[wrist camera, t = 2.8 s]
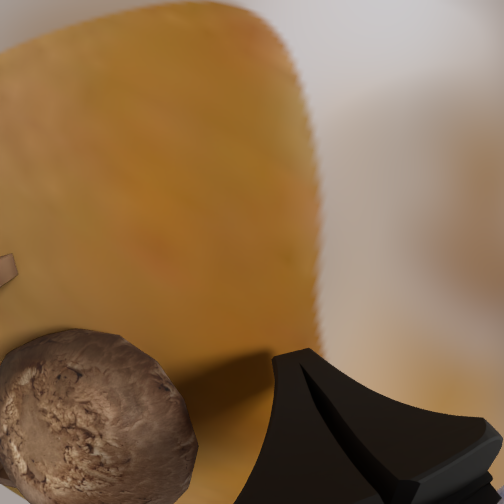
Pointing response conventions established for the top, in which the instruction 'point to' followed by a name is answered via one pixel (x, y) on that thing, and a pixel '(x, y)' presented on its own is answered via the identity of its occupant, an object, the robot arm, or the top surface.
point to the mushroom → (92, 423)
